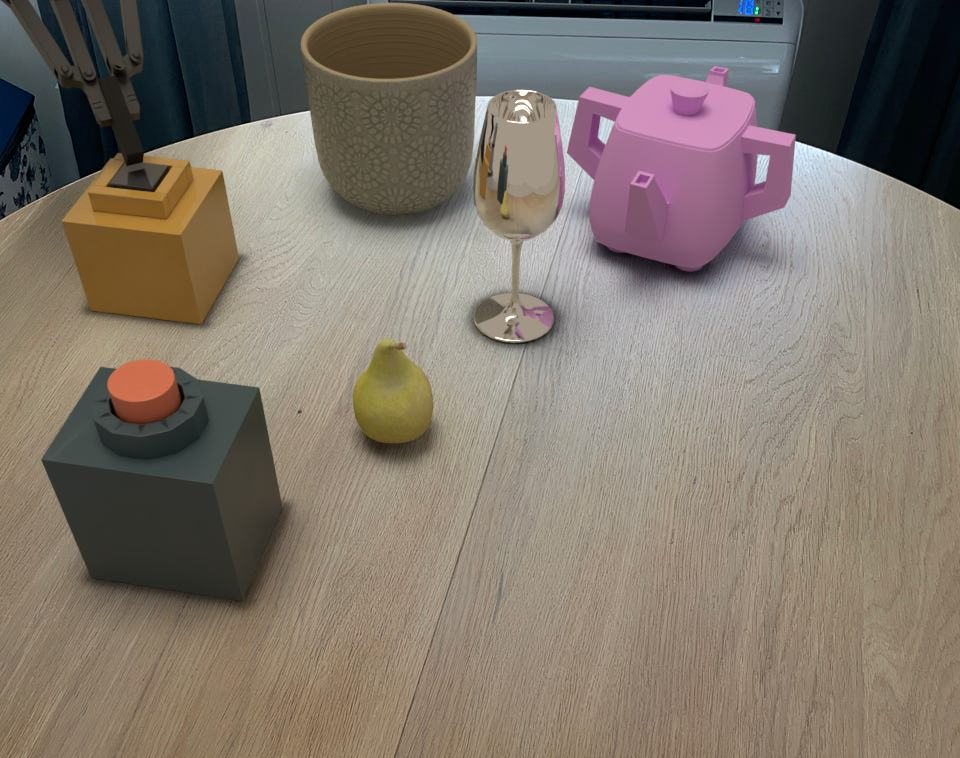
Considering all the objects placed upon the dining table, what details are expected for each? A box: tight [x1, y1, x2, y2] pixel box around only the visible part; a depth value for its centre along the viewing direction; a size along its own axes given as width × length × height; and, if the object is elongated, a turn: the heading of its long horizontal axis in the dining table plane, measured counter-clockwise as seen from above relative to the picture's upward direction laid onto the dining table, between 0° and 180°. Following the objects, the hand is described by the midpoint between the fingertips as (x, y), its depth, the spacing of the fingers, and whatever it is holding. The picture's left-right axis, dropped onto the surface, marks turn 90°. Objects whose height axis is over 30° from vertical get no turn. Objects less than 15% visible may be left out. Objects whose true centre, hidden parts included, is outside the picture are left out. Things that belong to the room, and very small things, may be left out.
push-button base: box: [61, 152, 240, 325], centre depth 100 cm, size 11×11×11 cm
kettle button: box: [109, 163, 169, 192], centre depth 96 cm, size 4×4×2 cm
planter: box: [300, 2, 478, 216], centre depth 109 cm, size 17×17×15 cm
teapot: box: [566, 65, 797, 272], centre depth 104 cm, size 19×18×15 cm
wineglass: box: [472, 89, 566, 344], centre depth 93 cm, size 8×8×20 cm
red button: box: [107, 359, 181, 425], centre depth 72 cm, size 4×4×2 cm
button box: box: [40, 366, 283, 602], centre depth 78 cm, size 12×10×14 cm
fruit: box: [352, 338, 435, 444], centre depth 86 cm, size 7×8×12 cm
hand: (135, 158), depth 95 cm, fingers closed
